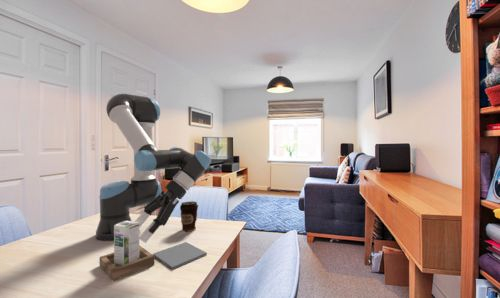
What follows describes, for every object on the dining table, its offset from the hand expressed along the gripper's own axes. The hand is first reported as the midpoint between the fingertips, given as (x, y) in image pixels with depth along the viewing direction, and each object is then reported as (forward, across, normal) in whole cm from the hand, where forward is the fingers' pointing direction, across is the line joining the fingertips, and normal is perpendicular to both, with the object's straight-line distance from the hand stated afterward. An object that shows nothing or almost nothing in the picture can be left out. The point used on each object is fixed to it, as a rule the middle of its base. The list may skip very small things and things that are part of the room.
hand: (137, 234), depth 81 cm
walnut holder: (+10, +2, -5) cm, 11 cm away
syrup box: (+10, +2, -5) cm, 11 cm away
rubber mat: (-2, -2, -17) cm, 18 cm away
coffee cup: (-11, +21, -26) cm, 35 cm away
